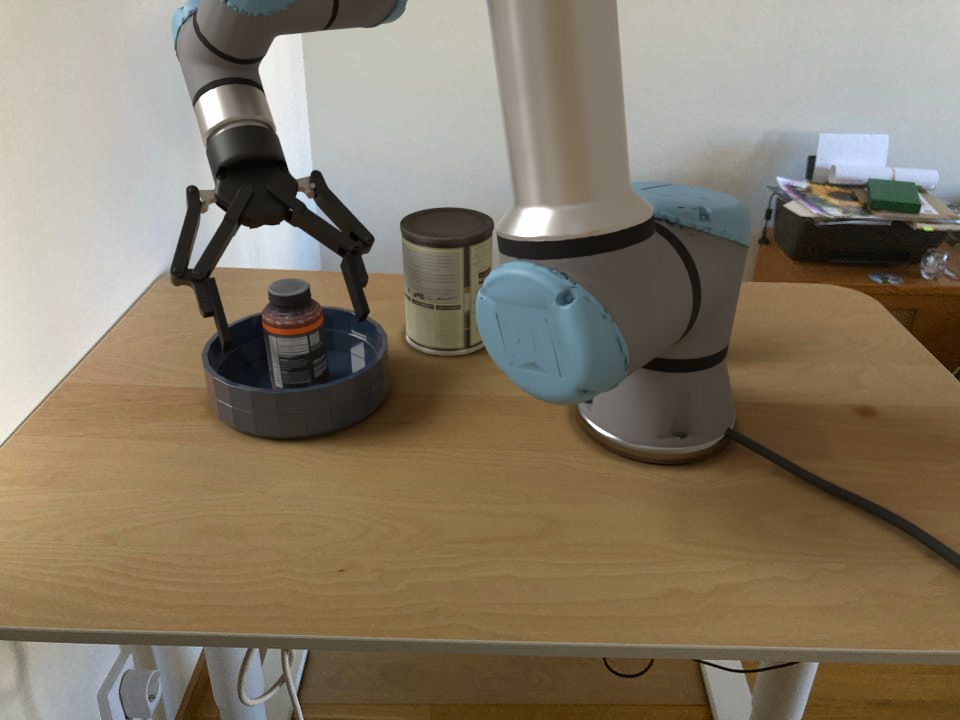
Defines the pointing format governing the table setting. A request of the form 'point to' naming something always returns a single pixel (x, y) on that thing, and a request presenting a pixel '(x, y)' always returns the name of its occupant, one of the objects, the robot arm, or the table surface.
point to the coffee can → (445, 277)
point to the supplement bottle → (294, 336)
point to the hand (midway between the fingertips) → (298, 331)
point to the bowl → (300, 411)
